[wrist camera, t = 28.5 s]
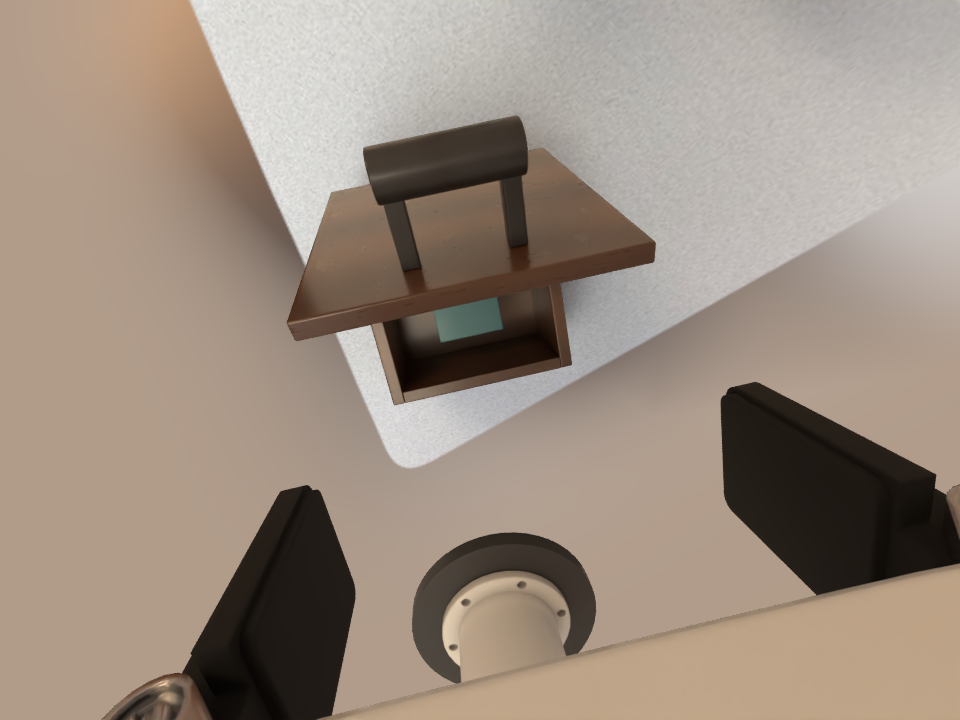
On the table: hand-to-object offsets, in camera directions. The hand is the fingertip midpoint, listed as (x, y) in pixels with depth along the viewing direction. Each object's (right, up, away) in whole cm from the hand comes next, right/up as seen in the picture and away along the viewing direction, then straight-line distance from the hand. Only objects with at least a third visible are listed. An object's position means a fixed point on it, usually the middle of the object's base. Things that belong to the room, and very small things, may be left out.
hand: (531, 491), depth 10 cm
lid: (-2, +9, +11) cm, 14 cm away
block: (-3, +8, +26) cm, 28 cm away
